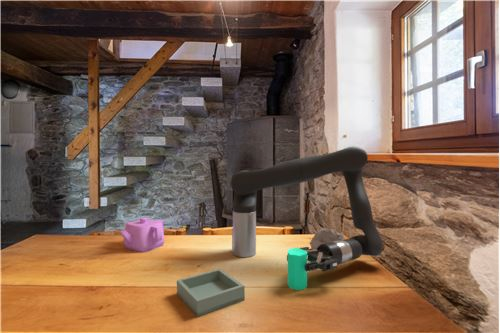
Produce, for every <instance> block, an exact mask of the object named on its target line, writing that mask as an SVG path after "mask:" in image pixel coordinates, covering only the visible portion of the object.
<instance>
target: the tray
mask: <svg viewBox="0 0 500 333" xmlns="http://www.w3.org/2000/svg"><path fill="white" fill-rule="evenodd" d="M245 287H246V286H245V285H244V284H242V283H241V282H240V281H239V280H237V279H236V278H234V277H233V276H231V275H229V274H228V273H227V272H226V271H224V270H222V269H221V268H217V269H213V270H211V271H205V272H203V273H198V274H196V275H192V276H187V277H184V278H180V279H176V295H177V296H178V297H179V298H180V299H181V300H182V301H183V302H184V304H185V305H186V306H187V308H189V309H190V310H191V312H193V314H194V315H195V316H196V317H197V318H199V317H201V316H204V315H207V314H209V313H212V312H215V311H218V310H220V309H223V308H226V307H229V306H233V305H235V304H237V303H240V302H243V301H245V300H246V298H245V295H246V294H245V293H246V292H245Z"/></svg>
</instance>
